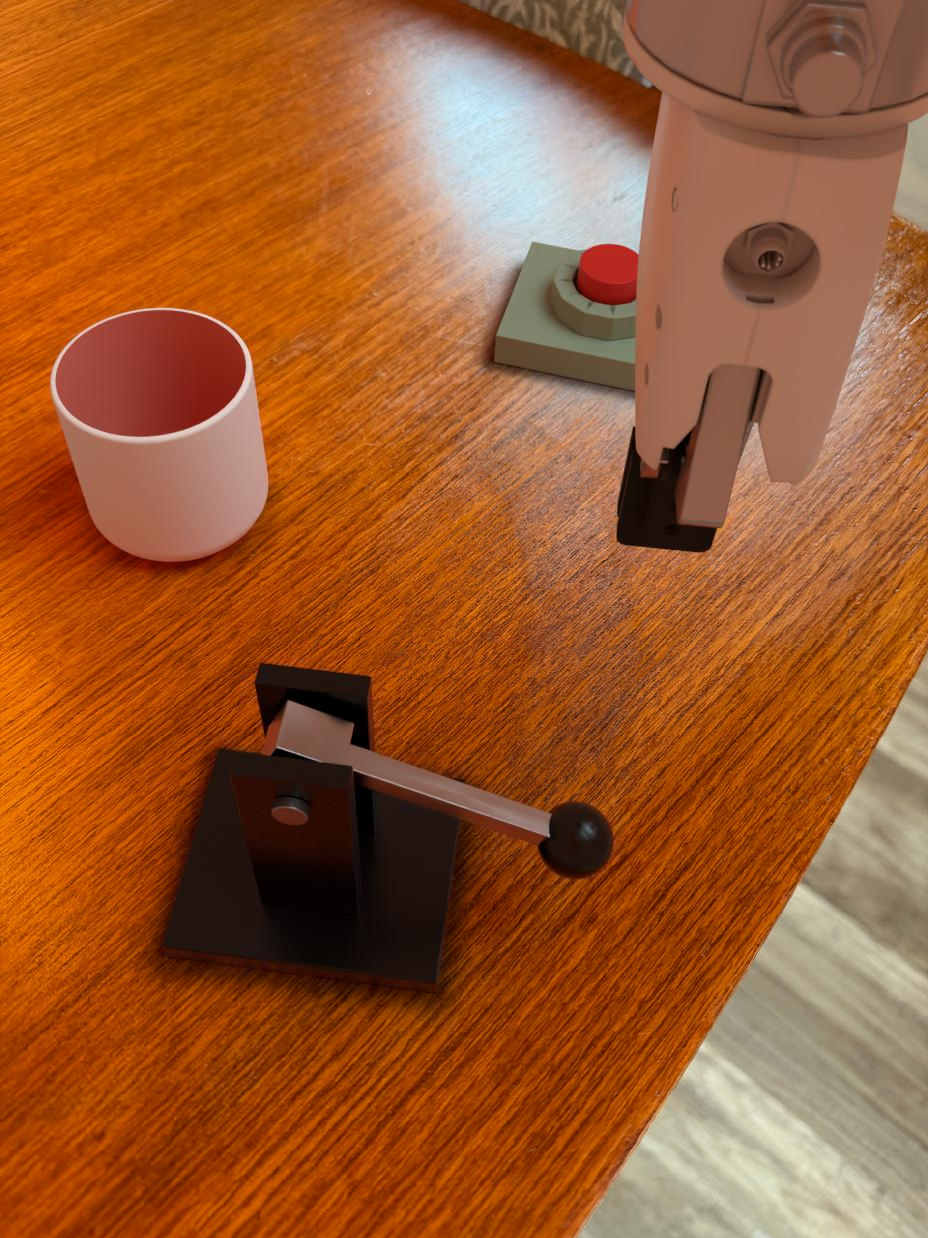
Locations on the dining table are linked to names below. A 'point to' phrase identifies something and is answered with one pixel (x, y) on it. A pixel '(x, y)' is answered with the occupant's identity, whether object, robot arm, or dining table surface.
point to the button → (608, 274)
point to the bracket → (314, 858)
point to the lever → (447, 792)
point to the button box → (565, 324)
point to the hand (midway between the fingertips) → (662, 530)
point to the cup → (163, 431)
